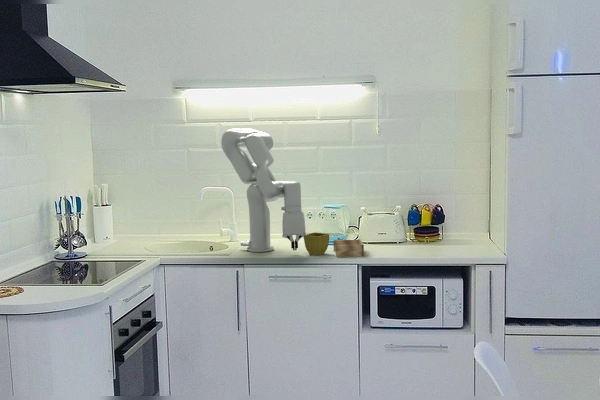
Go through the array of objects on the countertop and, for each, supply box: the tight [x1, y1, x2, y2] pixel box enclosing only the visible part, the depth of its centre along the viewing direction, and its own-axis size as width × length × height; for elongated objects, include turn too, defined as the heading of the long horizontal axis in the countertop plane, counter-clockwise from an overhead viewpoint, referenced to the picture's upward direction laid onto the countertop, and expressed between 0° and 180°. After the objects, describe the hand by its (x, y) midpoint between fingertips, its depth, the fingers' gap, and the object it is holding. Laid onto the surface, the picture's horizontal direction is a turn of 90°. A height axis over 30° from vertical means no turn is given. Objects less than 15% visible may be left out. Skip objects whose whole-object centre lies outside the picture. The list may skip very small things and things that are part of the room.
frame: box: [333, 238, 365, 258], centre depth 292 cm, size 12×15×5 cm
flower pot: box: [303, 232, 331, 256], centre depth 292 cm, size 9×9×9 cm
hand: (294, 249), depth 292 cm, fingers closed
